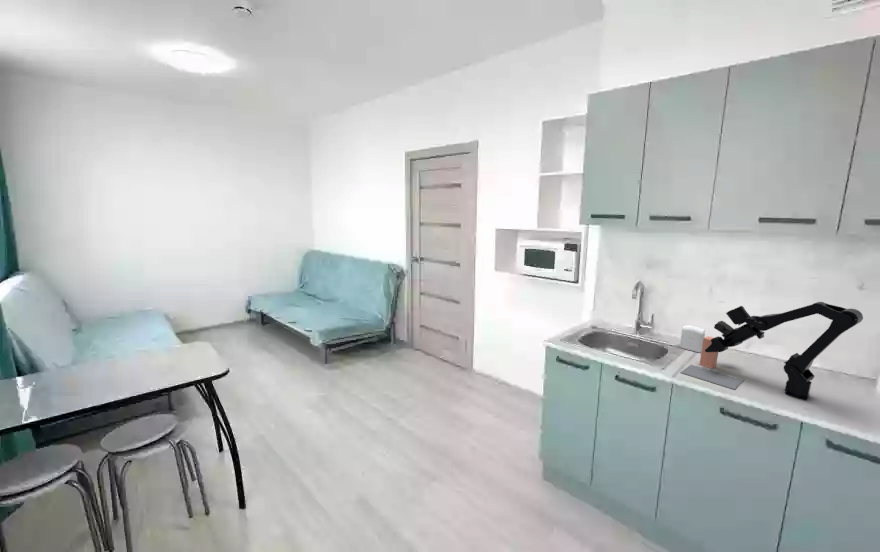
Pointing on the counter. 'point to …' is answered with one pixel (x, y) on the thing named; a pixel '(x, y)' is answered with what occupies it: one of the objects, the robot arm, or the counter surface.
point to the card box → (708, 354)
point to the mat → (712, 376)
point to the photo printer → (692, 338)
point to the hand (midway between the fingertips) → (710, 349)
